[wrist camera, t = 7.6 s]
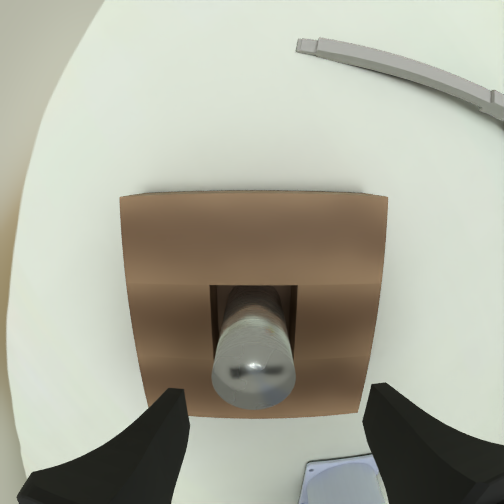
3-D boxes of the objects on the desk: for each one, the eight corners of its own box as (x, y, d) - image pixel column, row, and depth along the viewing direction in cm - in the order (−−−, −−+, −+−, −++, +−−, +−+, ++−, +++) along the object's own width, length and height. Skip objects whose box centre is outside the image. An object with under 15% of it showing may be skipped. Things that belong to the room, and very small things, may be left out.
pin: (283, 325, 20) (297, 405, 12) (230, 330, 20) (218, 411, 12) (278, 276, 19) (293, 339, 12) (223, 281, 19) (204, 347, 12)
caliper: (519, 131, 18) (570, 128, 12) (519, 143, 18) (570, 141, 12) (297, 41, 17) (312, -7, 11) (295, 54, 17) (310, 9, 11)
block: (344, 379, 22) (357, 412, 18) (163, 379, 22) (149, 411, 18) (363, 193, 19) (388, 197, 15) (144, 192, 19) (119, 197, 15)
